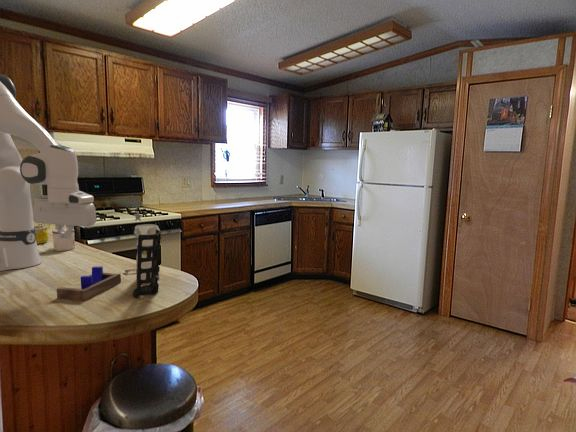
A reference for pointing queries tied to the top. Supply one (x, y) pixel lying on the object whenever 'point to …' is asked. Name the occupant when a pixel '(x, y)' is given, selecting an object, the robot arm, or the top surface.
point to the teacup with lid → (63, 241)
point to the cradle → (90, 288)
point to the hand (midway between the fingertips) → (65, 238)
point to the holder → (149, 271)
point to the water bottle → (145, 243)
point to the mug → (41, 234)
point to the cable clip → (92, 277)
